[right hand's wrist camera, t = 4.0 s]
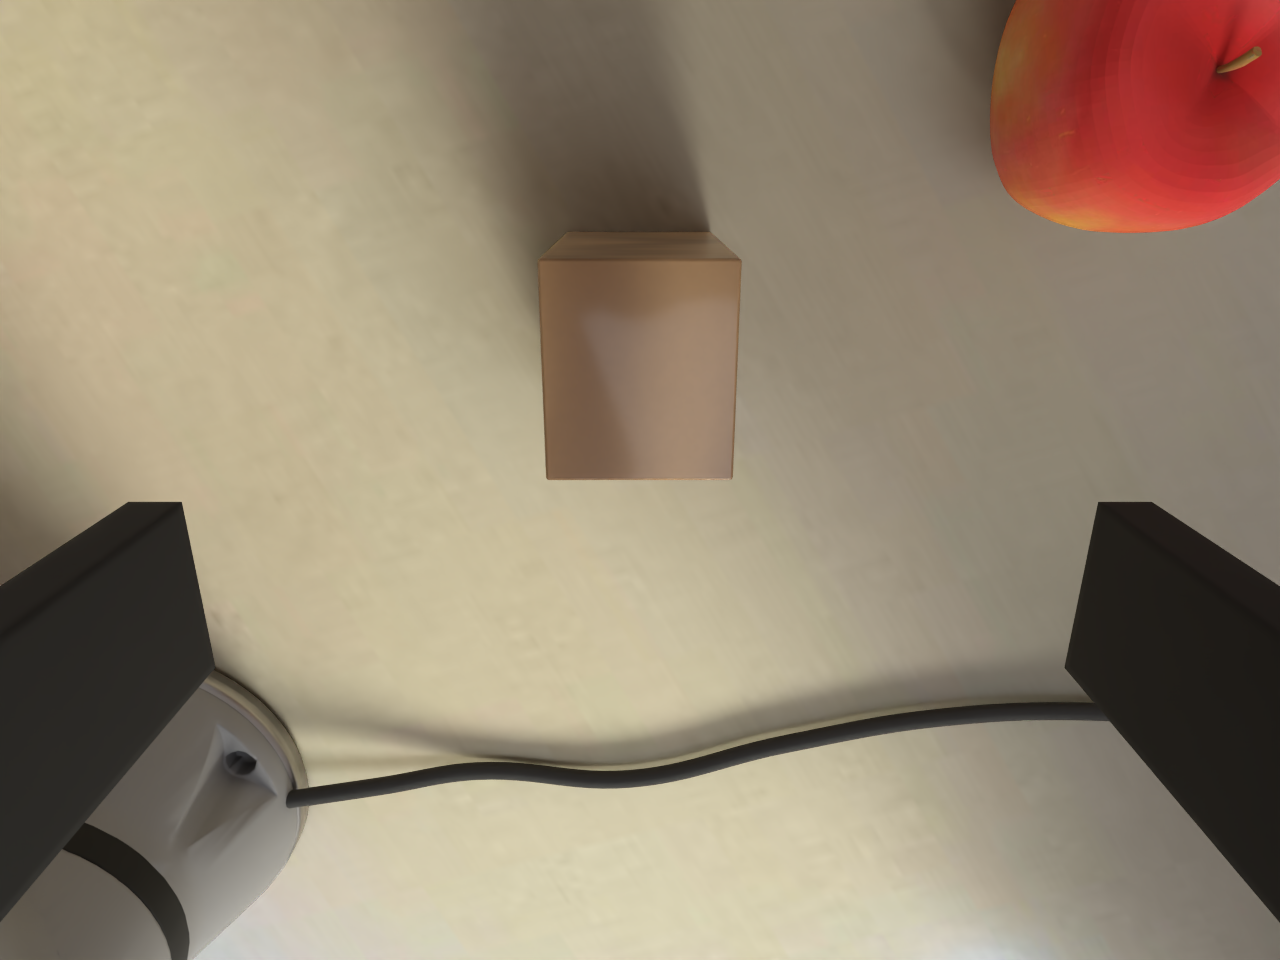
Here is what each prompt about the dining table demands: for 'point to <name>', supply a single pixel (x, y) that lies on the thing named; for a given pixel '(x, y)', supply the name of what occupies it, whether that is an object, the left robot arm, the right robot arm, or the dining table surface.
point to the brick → (639, 355)
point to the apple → (1137, 110)
